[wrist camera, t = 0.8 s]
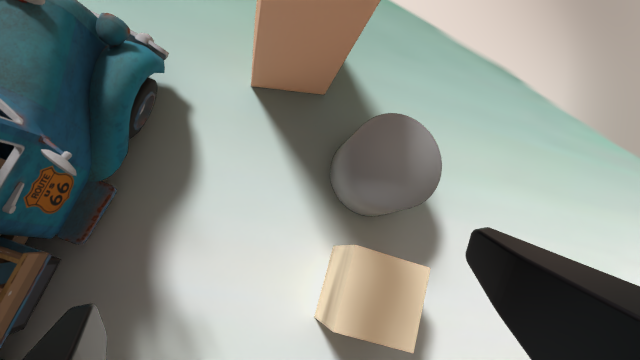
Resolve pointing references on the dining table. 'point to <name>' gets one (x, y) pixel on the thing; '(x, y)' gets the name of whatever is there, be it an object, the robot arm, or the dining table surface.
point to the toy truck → (62, 132)
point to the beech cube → (373, 296)
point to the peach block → (305, 41)
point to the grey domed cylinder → (386, 166)
